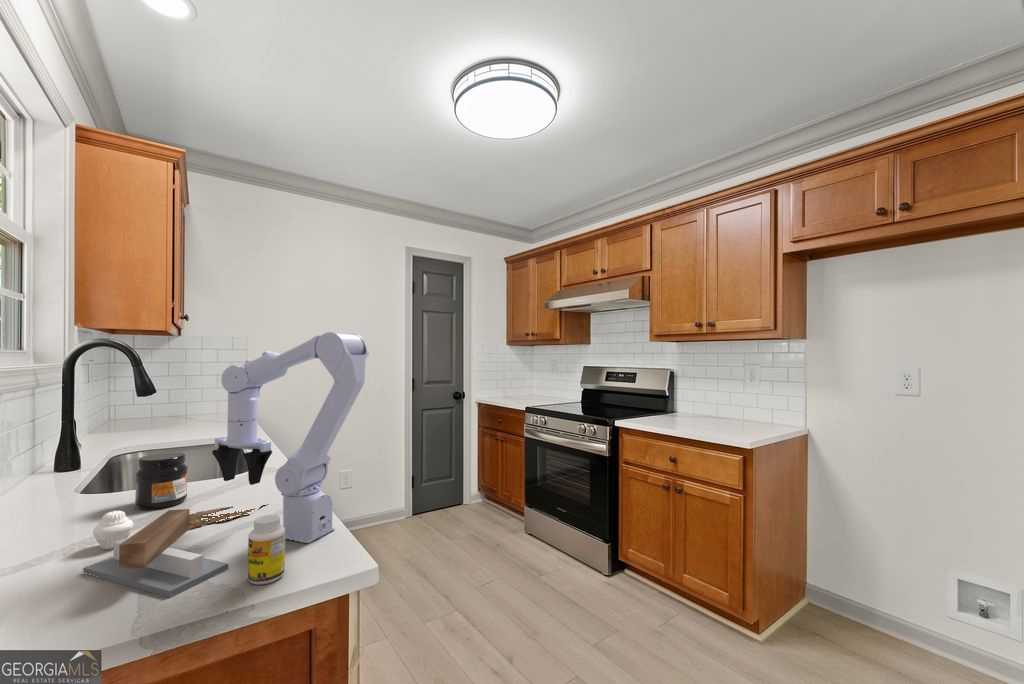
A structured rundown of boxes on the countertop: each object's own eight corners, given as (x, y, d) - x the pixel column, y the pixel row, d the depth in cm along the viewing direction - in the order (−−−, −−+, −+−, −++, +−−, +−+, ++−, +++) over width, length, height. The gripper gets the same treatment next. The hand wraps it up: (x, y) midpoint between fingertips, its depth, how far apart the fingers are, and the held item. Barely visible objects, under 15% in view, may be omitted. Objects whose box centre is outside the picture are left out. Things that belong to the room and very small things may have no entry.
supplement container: (190, 504, 115) (190, 456, 116) (136, 514, 108) (136, 463, 109) (184, 494, 123) (184, 449, 123) (133, 503, 116) (134, 455, 116)
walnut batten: (189, 529, 89) (189, 508, 90) (144, 567, 74) (144, 542, 74) (168, 531, 89) (169, 510, 89) (118, 570, 73) (119, 544, 73)
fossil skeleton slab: (149, 542, 93) (149, 537, 93) (137, 528, 101) (137, 524, 101) (280, 510, 113) (280, 505, 113) (263, 500, 120) (263, 496, 120)
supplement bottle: (240, 581, 78) (241, 520, 78) (271, 567, 83) (272, 510, 83) (260, 589, 75) (261, 526, 75) (291, 574, 80) (292, 515, 80)
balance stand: (228, 569, 82) (228, 546, 82) (169, 597, 73) (170, 571, 73) (145, 549, 89) (146, 529, 89) (83, 573, 80) (83, 550, 80)
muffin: (134, 546, 91) (135, 510, 91) (92, 555, 87) (93, 518, 87) (131, 536, 96) (132, 503, 96) (92, 545, 91) (92, 510, 91)
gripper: (282, 419, 103) (281, 480, 103) (235, 415, 108) (234, 473, 108) (255, 424, 96) (254, 489, 96) (205, 419, 101) (205, 481, 101)
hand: (241, 481), depth 101 cm, fingers open, 7 cm apart
